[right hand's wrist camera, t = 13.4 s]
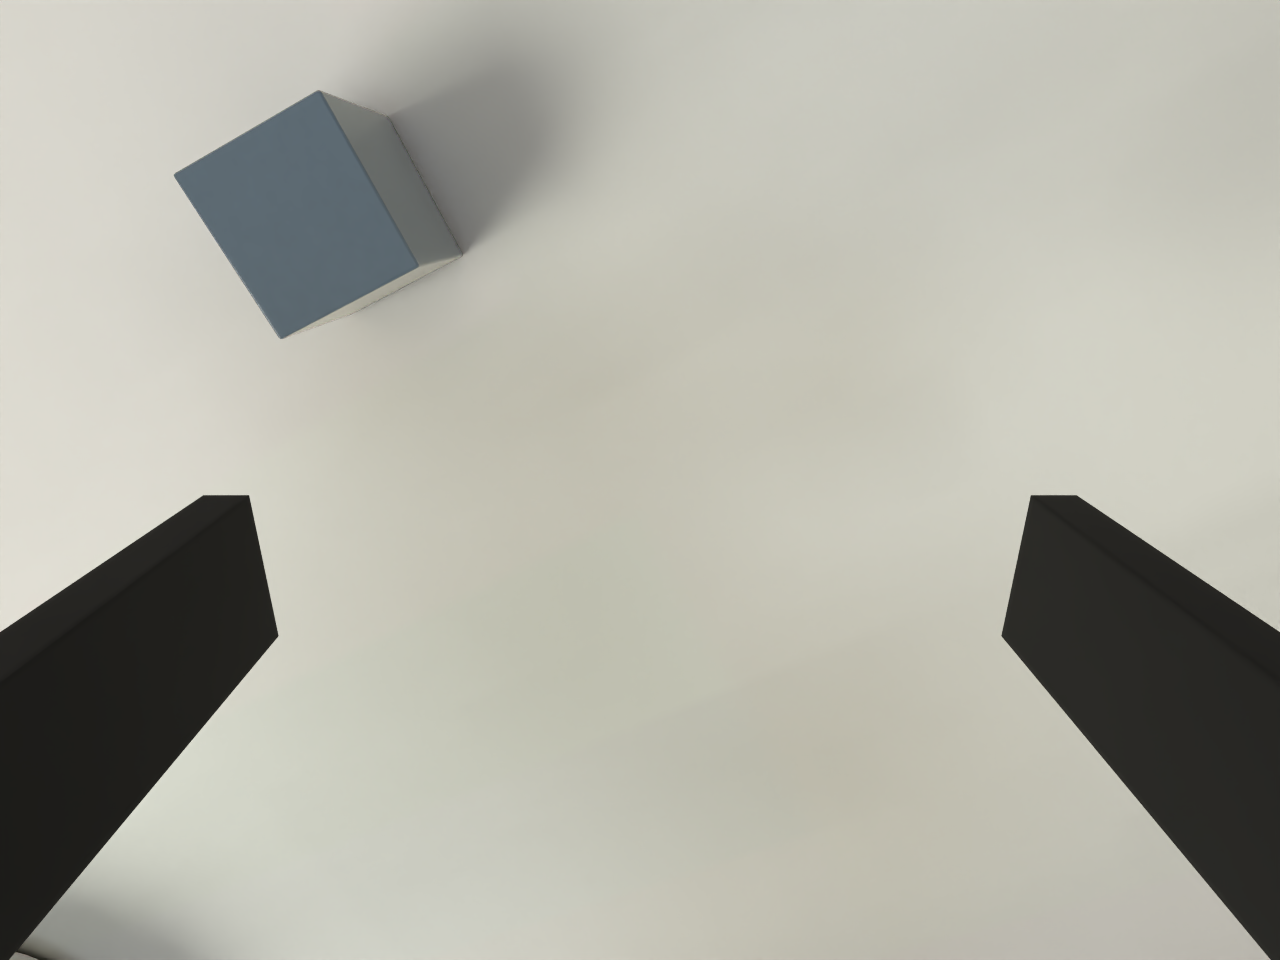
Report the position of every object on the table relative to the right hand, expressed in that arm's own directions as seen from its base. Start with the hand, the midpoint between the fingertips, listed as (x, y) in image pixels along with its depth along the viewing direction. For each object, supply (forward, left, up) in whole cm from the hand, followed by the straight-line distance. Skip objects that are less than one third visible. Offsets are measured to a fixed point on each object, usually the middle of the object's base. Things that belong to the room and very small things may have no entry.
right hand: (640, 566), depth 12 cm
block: (0, +10, -12) cm, 15 cm away
